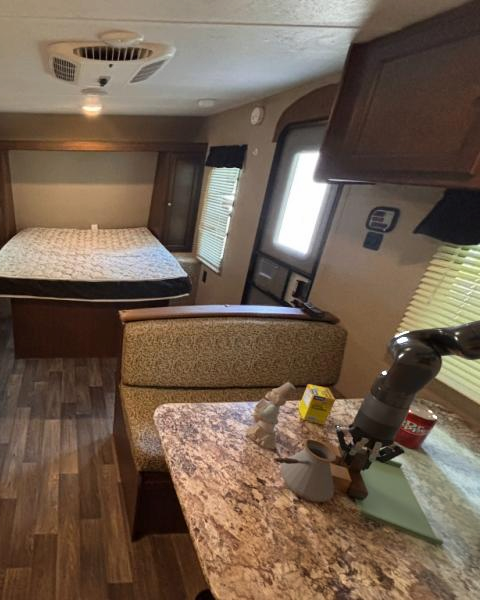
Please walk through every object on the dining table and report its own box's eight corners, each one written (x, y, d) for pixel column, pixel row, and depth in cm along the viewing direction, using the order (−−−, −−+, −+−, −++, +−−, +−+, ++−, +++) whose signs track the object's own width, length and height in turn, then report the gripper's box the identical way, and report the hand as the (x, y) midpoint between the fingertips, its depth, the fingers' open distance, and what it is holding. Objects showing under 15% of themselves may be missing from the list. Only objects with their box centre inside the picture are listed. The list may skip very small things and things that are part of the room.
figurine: (280, 438, 95) (302, 384, 87) (273, 454, 89) (295, 399, 81) (249, 422, 100) (266, 370, 92) (240, 436, 95) (258, 383, 87)
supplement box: (323, 427, 100) (336, 399, 95) (302, 421, 101) (313, 395, 97) (317, 414, 105) (329, 388, 100) (296, 409, 106) (307, 383, 102)
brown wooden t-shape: (347, 457, 87) (360, 433, 84) (363, 502, 76) (379, 476, 72) (334, 453, 89) (346, 429, 85) (348, 496, 77) (362, 470, 73)
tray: (397, 468, 87) (401, 463, 86) (438, 548, 68) (443, 542, 67) (336, 448, 92) (339, 443, 91) (358, 517, 74) (362, 511, 73)
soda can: (416, 456, 91) (437, 424, 86) (383, 439, 96) (401, 409, 91) (420, 443, 95) (440, 413, 90) (388, 428, 100) (405, 399, 95)
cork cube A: (332, 456, 89) (337, 446, 88) (336, 467, 86) (341, 457, 84) (316, 451, 91) (320, 440, 89) (318, 461, 88) (323, 451, 86)
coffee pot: (298, 461, 87) (316, 420, 81) (341, 500, 77) (365, 457, 71) (237, 482, 81) (252, 439, 75) (275, 527, 71) (296, 482, 65)
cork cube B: (342, 479, 82) (347, 468, 80) (346, 492, 78) (351, 481, 77) (323, 473, 83) (328, 462, 82) (327, 486, 80) (331, 474, 78)
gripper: (349, 413, 73) (324, 466, 80) (428, 435, 68) (394, 489, 75) (341, 394, 80) (318, 444, 87) (413, 413, 74) (382, 464, 81)
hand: (353, 465), depth 81 cm, fingers closed on brown wooden t-shape, 2 cm apart
